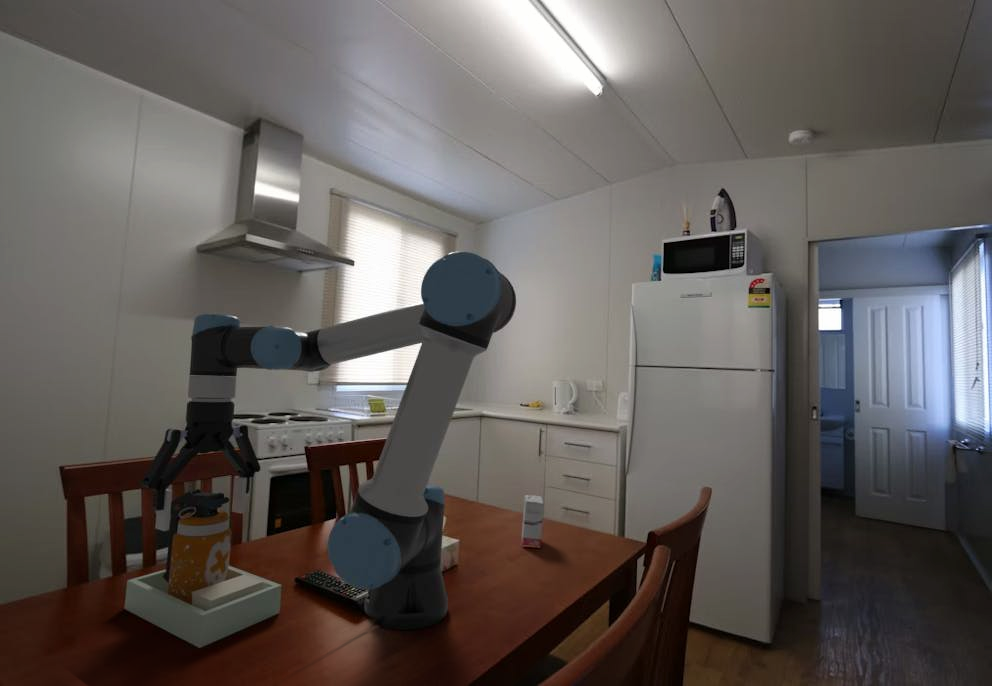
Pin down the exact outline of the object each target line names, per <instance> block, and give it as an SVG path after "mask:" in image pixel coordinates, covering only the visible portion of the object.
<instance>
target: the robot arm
mask: <svg viewBox="0 0 992 686" xmlns="http://www.w3.org/2000/svg"><path fill="white" fill-rule="evenodd" d="M496 267H497V266H495V264H493V263H492V262H491V261H490V260H488V259H486V258H484V257H482V256H481V255H478V254H477V253H474V252H469V251H453V252H449V253H448V254H445V255H444V256H441V257H439V258H438V259H437V260H436V261H434V262H433V263H432V264H431V265H430V266H429V267H428V269H427V271H425V274H424V276H423V279H422V281H421V287H420V288H421V289H420V296H421V300H422V301H421V302H418V303H414V304H409V305H405V306H402V307H399V308H398V307H397V308H394V309H391V310H388V311H382V312H379V313H375V314H371V315H368V316H367V315H366V316H364V317H359V318H356V319H352V320H349V321H345V322H341V323H337V324H334V325H330V326H325V327H323V328H320V329H314V330H312V331H311V330H310V331H307V332H300V331H296V330H294V329H293V328H291V327H286V326H277V325H268V326H241V320H240V318H239V317H237V316H233V315H227V314H219V313H218V314H217V313H216V314H215V313H214V314H213V313H202V314H199V315H197V316H196V317H195V318H194V321H193V329H192V332H191V337H190V338H191V339H190V340H191V346H190V347H191V348H190V350H191V351H190V362H189V363H190V365H189V377H188V380H189V381H188V391H187V397H188V398H189V399H191V400H190V401H188V402H187V403H186V414H185V422H186V426H185V428H184V430H181V429H175V428H168V429H167V430H166V431H165V434H164V441H163V443H162V444H161V446H160V448H159V450H158V451H157V454H156V455H155V457H154V459H153V460H152V462H151V464H150V465H149V467H148V469H147V470H146V473H145V474H144V476H143V478H142V479H141V481H140V485H139V486H141V487H142V488H146V489H151V490H152V502H151V503H152V504H151V508H152V510H153V511H156V515H155V527H154V528H155V529H156V530H158V531H159V530H160V531H162V532H167V531H169V530H170V523H171V514H170V511H171V502H172V498H173V497H172V496H173V495H172V494H173V490H172V489H169V486H170V485H172V483H173V482H174V481H175V479H177V477H178V476H179V475H180V473H182V471H183V470H184V469H185V468H186V466H187V465H188V464H189V463H190V461H191V460H193V458H195V457H197V455H198V454H202V455H203V454H208V453H210V452H211V453H219V452H220V453H221V454H222V455H223V457H224V458H225V459H226V460H227V462H228V463H229V464H230V466H231V467H232V468H233V469H234V471H235V472H236V473H237V474H238V475H236V476H234V477H233V491H232V492H233V493H232V506H231V507H232V508H231V512H233V513H236V514H245V512H246V511H245V510H246V509H245V508H246V499H247V497H246V495H247V494H249V492H250V485H251V484H250V483H251V478H253V477H255V473H259V472H260V471H261V468H262V467H261V465H260V463H259V461H258V458H257V455H256V452H255V450H254V448H253V445H252V443H251V440H250V437H249V427H248V425H246V424H235V425H234V426H233V425H232V423H233V420H234V419H235V417H234V415H235V402H234V401H232V399H235V398H236V392H237V391H236V389H237V376H238V374H237V372H238V369H259V370H268V371H269V370H270V371H274V370H275V371H278V370H282V371H284V370H286V371H302V372H303V371H304V372H308V373H313V372H321V371H324V370H327V369H328V368H329V367H331V366H333V365H335V364H339V363H343V362H348V361H352V360H356V359H360V358H363V357H364V358H365V357H368V356H372V355H377V354H380V353H387V352H389V351H393V350H394V351H395V350H398V349H401V348H406V347H411V346H414V345H418V344H420V348H419V351H418V352H417V356H416V358H415V361H414V364H413V367H412V370H411V373H410V375H409V376H408V377H409V378H408V381H407V383H406V386H405V388H404V392H403V395H402V397H401V400H400V402H399V405H398V408H397V410H396V414H395V416H394V419H393V421H392V424H391V426H390V429H389V431H388V435H387V437H386V441H385V443H384V445H383V448H382V451H381V454H380V457H379V459H378V462H377V464H376V468H375V470H374V473H373V476H372V478H371V479H368V480H366V481H364V482H362V483H361V484H360V485H359V487H358V489H357V491H356V494H355V497H354V499H353V502H352V505H351V508H350V510H349V512H348V513H347V514H345V515H343V516H342V517H340V518H339V520H338V521H336V523H335V524H334V525H333V526H332V528H331V530H330V533H329V536H328V538H327V539H328V540H327V555H328V559H329V562H331V564H332V566H333V570H334V572H335V574H336V575H337V576H338V577H339V578H340V580H342V581H343V582H344V583H345V584H347V585H349V586H351V587H354V588H355V589H359V590H368V591H367V593H366V596H365V597H364V598H365V599H364V607H363V608H364V609H363V610H364V613H365V615H366V617H368V618H369V619H371V620H372V621H375V622H372V624H374V625H376V626H378V627H381V628H385V629H391V630H399V631H400V630H401V631H403V630H404V631H405V630H406V631H407V630H415V629H416V630H417V629H421V628H426V627H430V626H433V625H435V624H437V623H439V622H441V621H442V620H443V619H444V618H445V617H446V616H447V613H448V603H449V599H448V598H449V597H448V593H447V591H446V586H445V581H444V576H443V573H442V570H441V569H442V568H441V563H442V561H441V560H442V549H443V547H442V546H443V530H444V514H445V508H446V503H445V491H444V489H443V488H442V487H440V486H439V485H436V484H430V483H429V481H430V477H431V475H432V474H433V473H432V472H433V469H434V467H435V464H436V462H437V459H438V456H439V453H440V450H441V448H442V446H443V445H442V444H443V442H444V439H445V437H446V434H447V431H448V428H449V427H450V423H451V420H452V417H453V415H454V412H455V409H456V407H457V404H458V401H459V399H460V396H461V393H462V391H463V388H464V385H465V383H466V380H467V377H468V374H469V371H470V369H471V366H472V364H473V360H474V358H475V357H477V356H478V355H480V354H482V353H485V352H486V351H487V350H488V348H489V344H490V342H491V339H492V337H493V334H494V333H497V332H499V331H500V330H503V328H505V327H506V326H507V325H508V324H509V322H510V321H511V320H512V318H513V316H514V314H515V311H516V307H517V295H516V292H515V288H514V287H513V285H512V283H511V282H510V280H509V279H508V277H506V276H505V275H504V274H502V273H501V272H500V271H499V270H498V268H496ZM232 436H233V437H234V439H235V443H236V445H237V448H238V450H239V452H240V455H239V453H238V452H237V450H236V449H235V446H234V445H233V443H232V442H231V441H230V438H231V437H232ZM183 439H184V440H185V441H186V442H185V444H183V446H182V447H181V448H180V450H179V453H178V454H177V455H176V456H175V457H174V458H173V456H174V455H175V453H176V451H177V449H178V447H179V445H180V443H181V442H183ZM241 456H242V457H241ZM172 458H173V460H172ZM171 460H172V461H171ZM170 461H171V462H170Z"/></svg>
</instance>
